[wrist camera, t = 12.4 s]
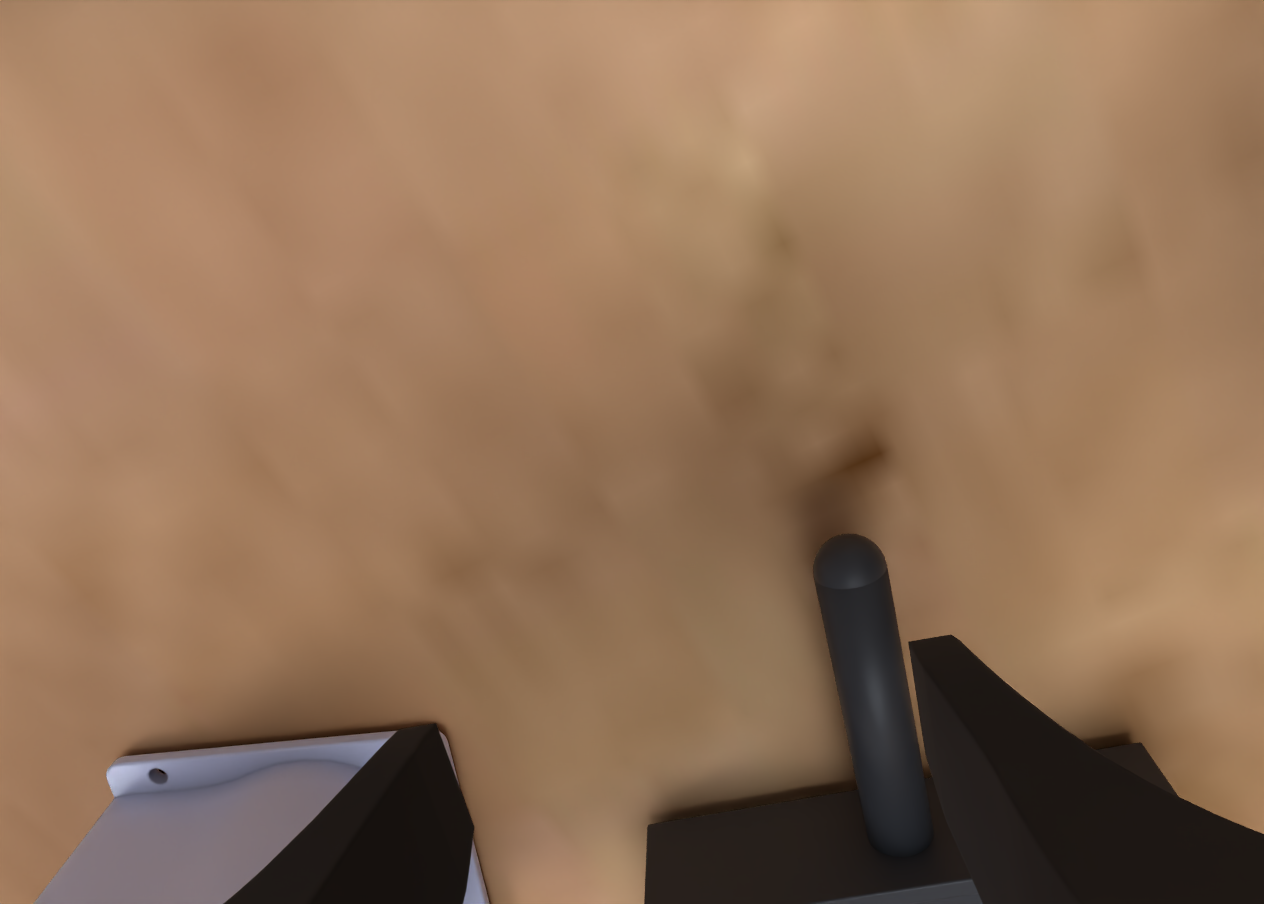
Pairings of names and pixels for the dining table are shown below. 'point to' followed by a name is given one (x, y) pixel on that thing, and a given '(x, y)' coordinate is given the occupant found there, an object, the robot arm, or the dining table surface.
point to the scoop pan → (848, 821)
